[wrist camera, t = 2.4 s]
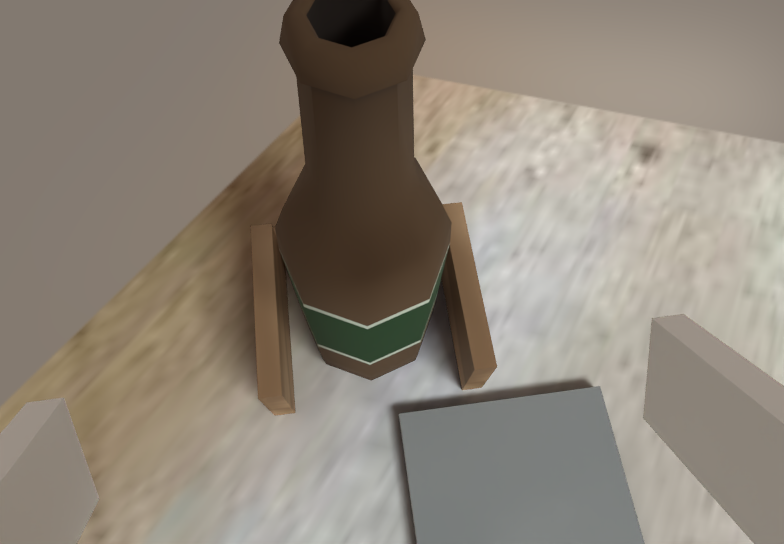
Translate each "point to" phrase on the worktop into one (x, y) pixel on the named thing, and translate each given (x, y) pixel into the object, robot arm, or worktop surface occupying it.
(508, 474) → the coaster
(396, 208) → the beer bottle
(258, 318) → the cradle
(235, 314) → the worktop surface
